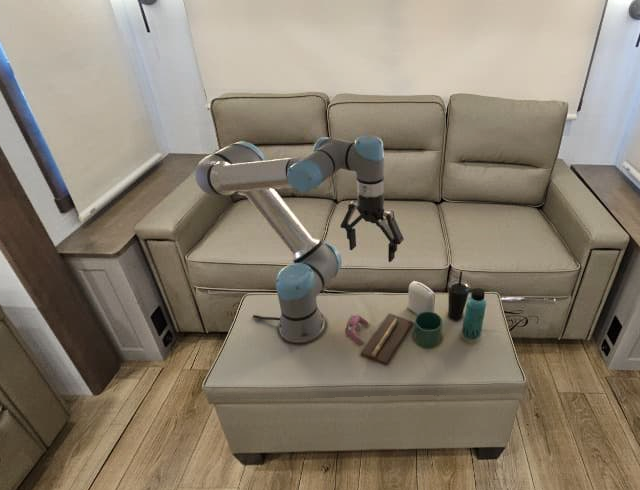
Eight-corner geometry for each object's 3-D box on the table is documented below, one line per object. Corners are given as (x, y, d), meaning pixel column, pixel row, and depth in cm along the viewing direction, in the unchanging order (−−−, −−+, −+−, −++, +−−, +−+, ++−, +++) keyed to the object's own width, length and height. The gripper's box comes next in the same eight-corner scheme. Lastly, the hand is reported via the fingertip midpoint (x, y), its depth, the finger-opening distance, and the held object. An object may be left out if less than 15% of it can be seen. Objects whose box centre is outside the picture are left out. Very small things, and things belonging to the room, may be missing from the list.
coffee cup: (409, 341, 141) (410, 325, 136) (420, 324, 148) (421, 308, 143) (434, 351, 138) (436, 334, 133) (444, 332, 144) (446, 316, 140)
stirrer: (386, 356, 146) (370, 356, 134) (395, 318, 147) (380, 315, 135) (389, 357, 145) (374, 357, 133) (399, 319, 147) (384, 316, 135)
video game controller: (359, 325, 148) (349, 311, 145) (370, 323, 147) (360, 308, 143) (350, 346, 141) (340, 331, 137) (362, 344, 139) (352, 329, 136)
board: (361, 354, 136) (361, 352, 135) (389, 315, 151) (389, 313, 150) (386, 364, 133) (386, 362, 132) (412, 323, 148) (412, 321, 147)
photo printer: (406, 308, 154) (407, 281, 147) (414, 302, 156) (415, 276, 149) (427, 322, 148) (429, 296, 141) (435, 316, 151) (437, 290, 143)
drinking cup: (465, 324, 148) (472, 280, 136) (443, 321, 149) (448, 277, 137) (466, 310, 154) (473, 266, 142) (445, 306, 155) (450, 263, 143)
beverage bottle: (458, 339, 142) (464, 294, 130) (464, 326, 147) (471, 282, 135) (477, 346, 140) (485, 301, 128) (482, 332, 145) (491, 288, 133)
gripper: (325, 188, 121) (331, 249, 133) (405, 208, 112) (403, 271, 125) (339, 177, 126) (343, 237, 139) (416, 196, 118) (413, 258, 130)
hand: (371, 253), depth 132 cm, fingers open, 13 cm apart
